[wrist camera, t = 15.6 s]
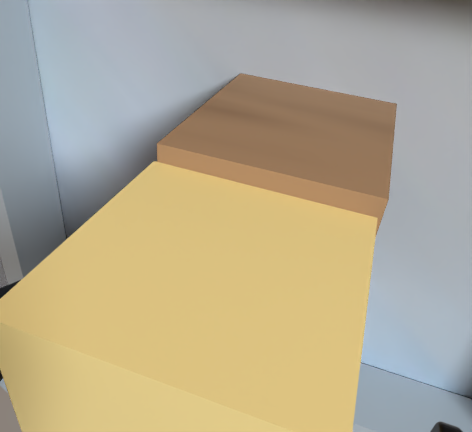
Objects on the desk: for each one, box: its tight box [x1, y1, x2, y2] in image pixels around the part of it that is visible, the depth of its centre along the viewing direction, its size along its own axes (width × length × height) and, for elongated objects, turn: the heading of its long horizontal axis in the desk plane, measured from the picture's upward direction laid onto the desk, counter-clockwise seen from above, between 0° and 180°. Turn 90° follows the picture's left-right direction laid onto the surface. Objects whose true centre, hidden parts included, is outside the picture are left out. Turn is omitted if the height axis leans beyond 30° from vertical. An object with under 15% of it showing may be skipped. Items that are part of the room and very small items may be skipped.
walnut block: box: [157, 74, 397, 237], centre depth 13 cm, size 7×5×6 cm
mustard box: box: [0, 161, 378, 432], centre depth 9 cm, size 6×5×5 cm
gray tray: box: [0, 0, 472, 432], centre depth 15 cm, size 23×18×3 cm
